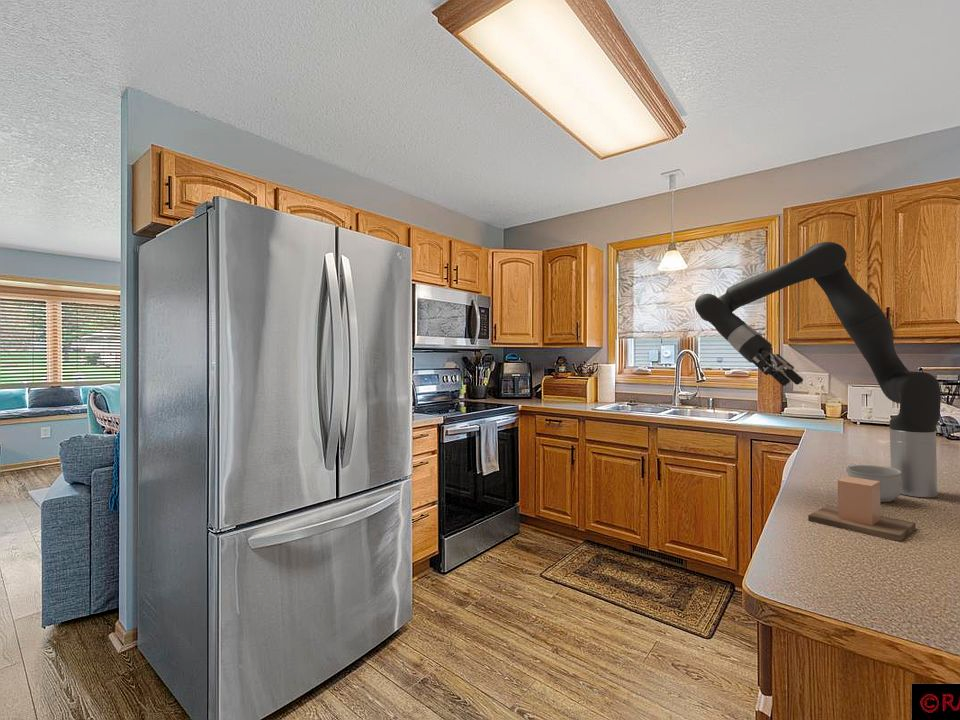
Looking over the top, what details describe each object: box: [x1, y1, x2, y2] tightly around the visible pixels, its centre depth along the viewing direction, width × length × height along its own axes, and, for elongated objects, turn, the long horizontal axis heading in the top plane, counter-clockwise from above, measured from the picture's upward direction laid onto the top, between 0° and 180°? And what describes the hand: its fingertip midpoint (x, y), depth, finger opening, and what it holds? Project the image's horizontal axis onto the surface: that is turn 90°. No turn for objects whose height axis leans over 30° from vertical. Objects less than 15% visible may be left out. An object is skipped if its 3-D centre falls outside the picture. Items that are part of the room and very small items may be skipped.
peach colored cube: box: [837, 475, 882, 525], centre depth 104 cm, size 6×6×8 cm
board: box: [807, 504, 916, 542], centre depth 104 cm, size 12×16×1 cm
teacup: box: [846, 463, 902, 503], centre depth 124 cm, size 14×11×8 cm
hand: (794, 383), depth 126 cm, fingers open, 8 cm apart
